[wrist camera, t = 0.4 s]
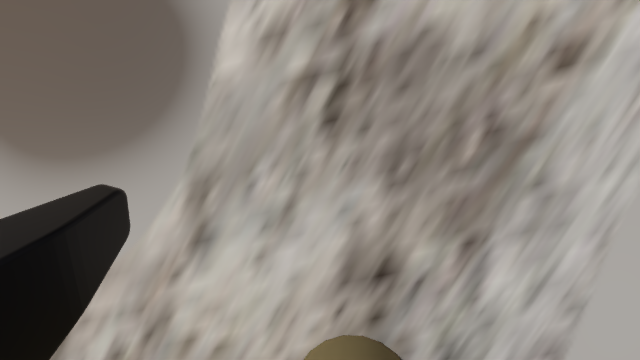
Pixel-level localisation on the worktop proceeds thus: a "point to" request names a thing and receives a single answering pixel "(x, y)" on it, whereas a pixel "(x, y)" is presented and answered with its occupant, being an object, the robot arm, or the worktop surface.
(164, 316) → the worktop surface
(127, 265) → the worktop surface
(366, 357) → the olive tapered cylinder
